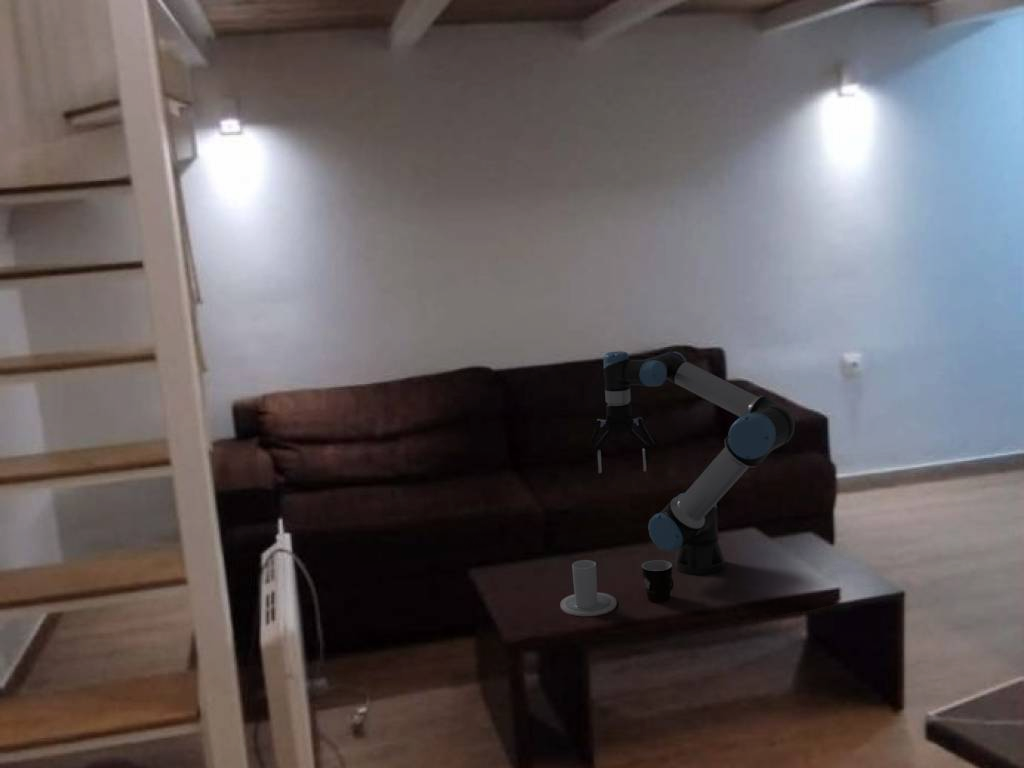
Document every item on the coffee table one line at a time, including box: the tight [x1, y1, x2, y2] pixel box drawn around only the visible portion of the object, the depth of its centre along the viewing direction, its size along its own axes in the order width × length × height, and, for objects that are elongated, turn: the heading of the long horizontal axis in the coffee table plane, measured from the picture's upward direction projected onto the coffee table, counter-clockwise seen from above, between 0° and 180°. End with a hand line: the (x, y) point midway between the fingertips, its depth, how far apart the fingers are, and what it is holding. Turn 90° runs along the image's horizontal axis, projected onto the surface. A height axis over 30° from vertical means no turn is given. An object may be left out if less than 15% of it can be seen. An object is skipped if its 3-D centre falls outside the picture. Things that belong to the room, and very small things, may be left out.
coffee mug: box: [641, 559, 674, 604], centre depth 292 cm, size 12×9×10 cm
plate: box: [560, 591, 618, 617], centre depth 293 cm, size 16×16×1 cm
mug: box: [571, 559, 598, 609], centre depth 292 cm, size 10×7×12 cm, turn 4°
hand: (622, 471), depth 313 cm, fingers open, 13 cm apart
